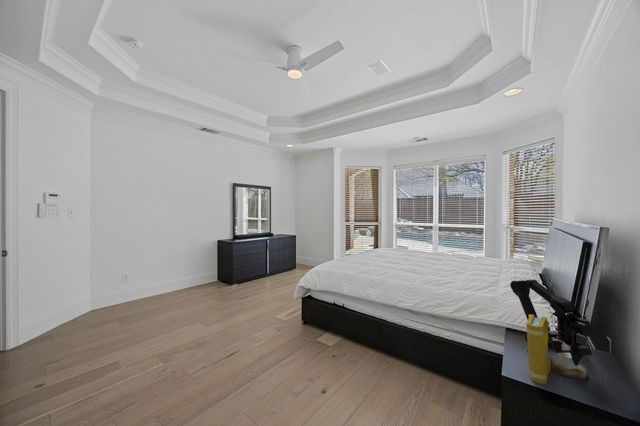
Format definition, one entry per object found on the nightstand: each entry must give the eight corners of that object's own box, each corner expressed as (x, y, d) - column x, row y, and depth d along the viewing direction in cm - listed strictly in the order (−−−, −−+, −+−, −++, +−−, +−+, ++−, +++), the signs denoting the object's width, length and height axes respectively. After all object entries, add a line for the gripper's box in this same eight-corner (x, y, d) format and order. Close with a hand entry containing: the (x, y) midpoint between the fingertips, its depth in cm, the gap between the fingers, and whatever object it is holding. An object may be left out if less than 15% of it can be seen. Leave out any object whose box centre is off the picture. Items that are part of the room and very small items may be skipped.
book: (532, 364, 130) (529, 314, 131) (550, 369, 125) (547, 317, 126) (527, 379, 118) (524, 324, 119) (547, 385, 113) (543, 328, 114)
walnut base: (567, 379, 117) (566, 373, 118) (545, 364, 129) (544, 359, 130) (594, 378, 117) (594, 373, 117) (570, 364, 129) (569, 359, 129)
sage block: (567, 369, 121) (566, 358, 121) (558, 363, 126) (557, 352, 126) (578, 368, 121) (578, 358, 121) (568, 363, 126) (568, 352, 126)
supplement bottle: (566, 346, 147) (564, 323, 147) (573, 351, 140) (571, 327, 141) (551, 344, 149) (549, 322, 149) (557, 350, 143) (556, 326, 143)
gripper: (603, 335, 114) (606, 371, 114) (565, 319, 133) (567, 350, 132) (577, 336, 115) (579, 372, 114) (542, 320, 133) (544, 350, 133)
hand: (567, 360), depth 123 cm, fingers open, 8 cm apart
